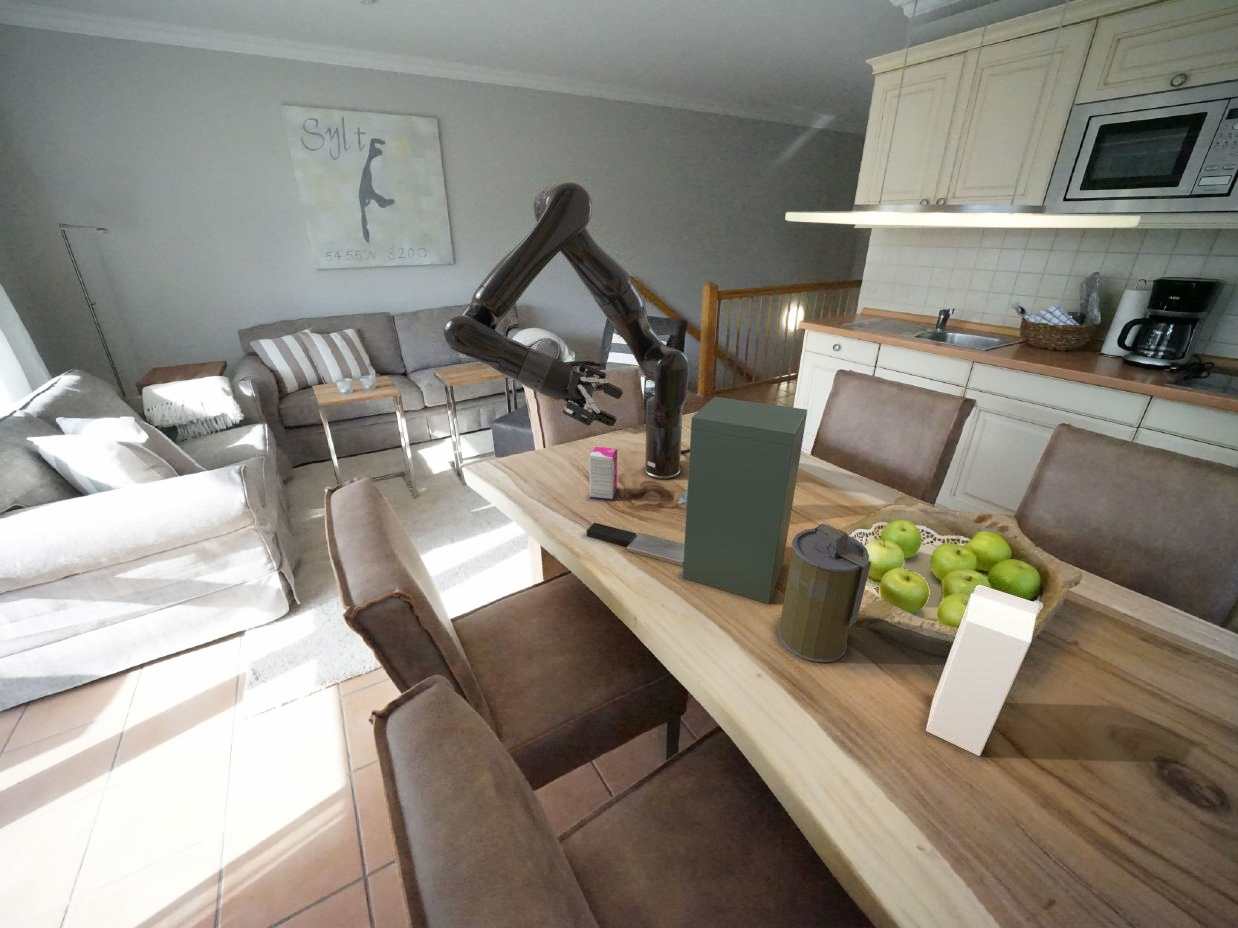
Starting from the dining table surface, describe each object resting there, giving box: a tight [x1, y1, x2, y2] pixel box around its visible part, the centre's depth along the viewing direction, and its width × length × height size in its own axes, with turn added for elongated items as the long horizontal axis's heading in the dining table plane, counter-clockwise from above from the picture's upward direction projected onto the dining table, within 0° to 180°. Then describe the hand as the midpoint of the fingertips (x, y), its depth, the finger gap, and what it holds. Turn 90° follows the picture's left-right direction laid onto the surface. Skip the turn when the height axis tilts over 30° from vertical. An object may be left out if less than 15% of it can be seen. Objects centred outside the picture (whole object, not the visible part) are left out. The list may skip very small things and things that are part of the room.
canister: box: [777, 523, 872, 663], centre depth 77 cm, size 11×10×20 cm
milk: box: [925, 584, 1041, 757], centre depth 62 cm, size 6×6×22 cm
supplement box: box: [588, 446, 618, 501], centre depth 122 cm, size 6×6×12 cm
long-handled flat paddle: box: [586, 522, 685, 567], centre depth 105 cm, size 6×22×2 cm, turn 64°
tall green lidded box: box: [682, 396, 808, 605], centre depth 90 cm, size 12×16×32 cm
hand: (618, 408), depth 103 cm, fingers open, 8 cm apart
